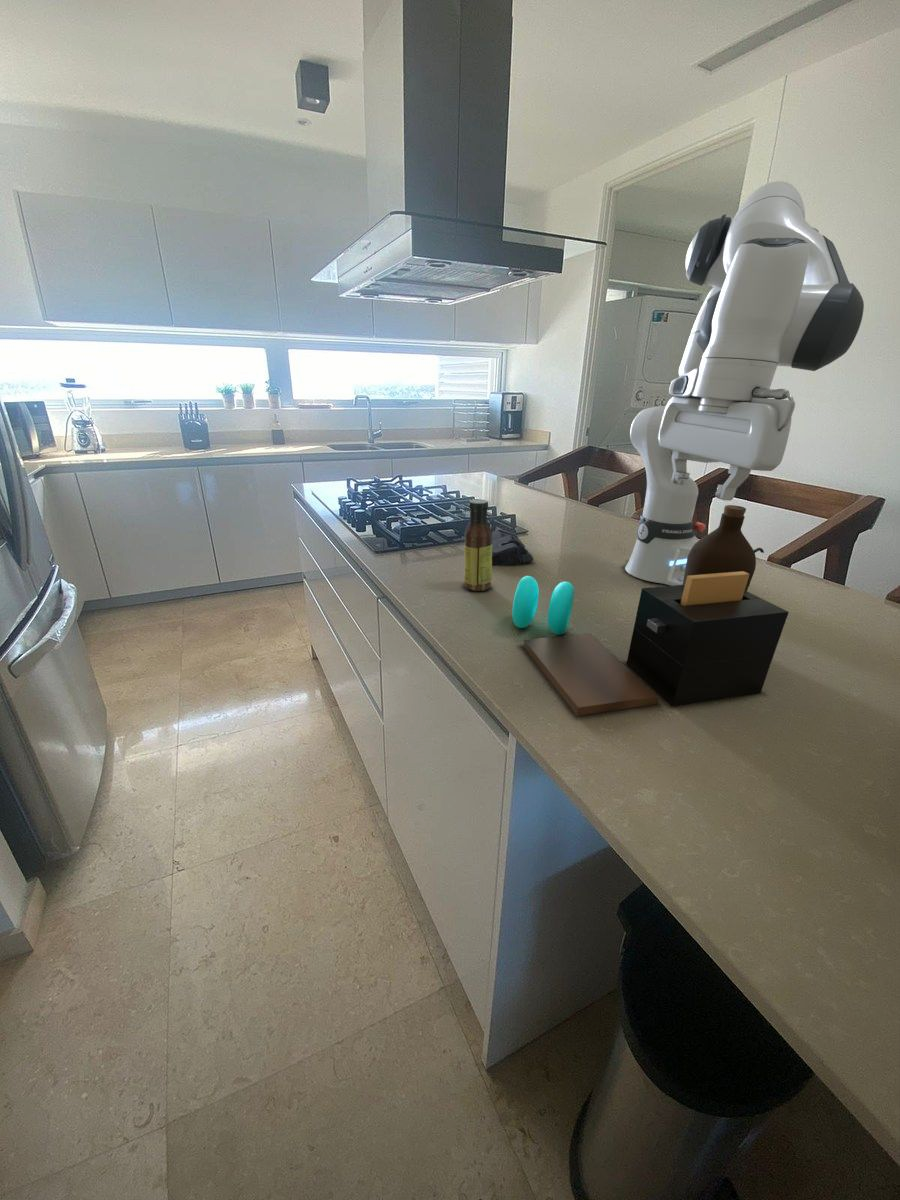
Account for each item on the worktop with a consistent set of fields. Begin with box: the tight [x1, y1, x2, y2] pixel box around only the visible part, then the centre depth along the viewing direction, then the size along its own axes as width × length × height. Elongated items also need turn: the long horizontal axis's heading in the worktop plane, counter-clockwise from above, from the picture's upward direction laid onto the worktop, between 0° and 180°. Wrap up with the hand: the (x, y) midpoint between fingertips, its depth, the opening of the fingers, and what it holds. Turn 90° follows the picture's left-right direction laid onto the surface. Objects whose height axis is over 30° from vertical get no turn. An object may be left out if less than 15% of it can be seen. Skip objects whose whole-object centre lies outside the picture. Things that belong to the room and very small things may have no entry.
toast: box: [680, 571, 749, 606], centre depth 74 cm, size 10×1×11 cm, turn 104°
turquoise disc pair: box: [511, 575, 575, 636], centre depth 91 cm, size 10×10×10 cm
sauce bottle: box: [463, 498, 493, 592], centre depth 107 cm, size 7×6×20 cm
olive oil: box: [683, 504, 757, 592], centre depth 86 cm, size 11×11×25 cm
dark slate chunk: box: [492, 529, 534, 566], centre depth 134 cm, size 15×22×5 cm
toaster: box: [625, 585, 790, 707], centre depth 76 cm, size 18×12×14 cm
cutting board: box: [523, 632, 659, 717], centre depth 79 cm, size 13×20×2 cm, turn 14°
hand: (699, 491), depth 69 cm, fingers open, 8 cm apart
